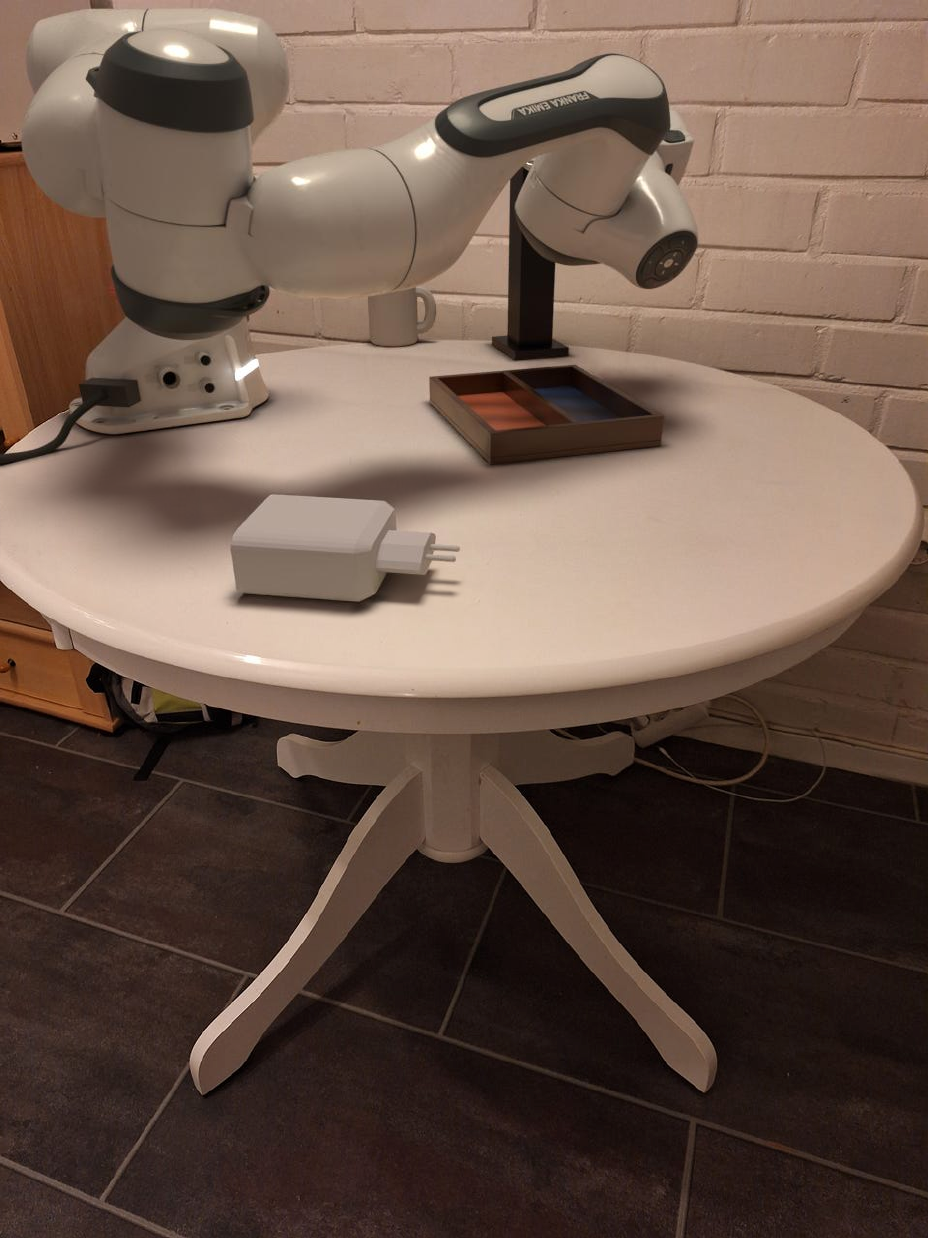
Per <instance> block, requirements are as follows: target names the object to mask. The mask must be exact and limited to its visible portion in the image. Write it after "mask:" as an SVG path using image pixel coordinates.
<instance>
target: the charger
mask: <svg viewBox="0 0 928 1238" xmlns="http://www.w3.org/2000/svg"><path fill="white" fill-rule="evenodd" d="M436 539H437V536H436V533H435V532H428V531H410V530H397V511H396V508H394V507H393V506H392V505H390V504H389V503H388V502H387V501H385V500H379V499H378V500H375V499H358V498H342V497H327V496H326V497H324V496H308V495H292V494H291V495H290V494H275V493H274V494H270V495H268V496H267V497H266V498H265V499H264V500H263V501H262V502H261V503H260V504H259V505H258V507H256V508H255V510H254V511H253V512H252V513H251V514H250V515H249V516H248V517H247V518H246V519H245V520H244V521H243V522H242V523H241V524H240V525H239V526H238V528H237V529H236V530H235V531H234V533H233V535H232V537H231V541H230V554H231V561H232V569H233V576H234V581H235V582H234V583H235V589H236V592H237V593H238V594H248V595H249V594H251V595H264V596H278V597H288V598H289V597H291V598H303V599H316V600H332V601H345V602H359V603H360V602H362V601H364V600H366V599H368V598H370V597H372V596H373V595H375V594H376V593H377V592H378V590H379V588H380V586H381V585H382V583H383V581H384V579H385V577H386V575H387V573H393V574H408V575H423V576H425V575H426V574H427V573H428V570H429V568H430V566H431V564H432V562H445V563H446V562H447V563H455V562H456V560H457V558H456V556H455V555H449V554H447V555H446V554H434V552H435V551H437V552H438V551H439V552H454V553H459V552H460V550H461V546H459V545H450V544H449V545H448V544H438V543H437V544H436Z"/></svg>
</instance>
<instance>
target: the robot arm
mask: <svg viewBox="0 0 928 1238" xmlns="http://www.w3.org/2000/svg"><path fill="white" fill-rule="evenodd" d="M25 53H26V54H25V64H26V73H27V78H28V81H29V84H30V87H31V89H32V91H33V94H34V96H33V97H32V100H31V102H30V104H29V106H28V108H27V112H26V114H25V117H24V121H23V124H22V128H21V149H22V150H21V151H22V156H23V159H24V162H25V164H26V167H27V170H28V172H29V174H30V175H31V177H32V179H33V180H34V182H35V183H36V186H38V188H39V189H40V190H41V191H42V192H43V193H44V194H45V195H46V196H47V197H48V198H49V199H50V200H51V201H52V202H54V203H55V204H57V205H58V206H59V207H61V208H62V209H65V210H66V211H68V212H71V213H73V214H75V215H78V216H83V217H87V218H105V222H106V229H107V236H108V242H109V248H110V253H111V259H112V265H111V267H110V275H111V280H112V281H111V282H110V286H108V289H109V290H108V293H109V296H110V297H112V299H114V300H117V301H118V303H119V306H120V308H121V311H122V313H123V314H124V316H125V317H124V318H123V319H122V320H120V322H118V325H116V326H115V327H114V329H112V331H110V333H109V334H107V336H106V337H105V338H104V339H102V340H101V342H100V343H99V344H98V345H97V346H95V347H94V349H92V350H91V351H90V353H89V354H88V356H87V358H86V363H85V372H84V373H85V374H84V375H85V376H84V377H85V378H84V381H82V382H79V383H78V386H79V392H80V397H78V398H77V397H76V398H74V399H73V400H72V401H71V402H70V403H69V404H68V411H69V416H68V417H66V419H65V421H64V422H63V424H62V426H61V428H60V430H59V432H58V434H57V435H56V436H55V437H54V439H52V440H51V441H49V442H48V443H46V444H44V445H42V446H39V447H36V448H34V449H29V450H23V451H18V452H16V451H15V452H8V453H1V454H0V464H6V463H7V464H8V463H15V462H20V461H24V460H28V459H29V460H30V459H34V458H37V457H40V456H44V455H47V454H50V453H52V452H54V451H55V450H57V449H59V447H61V446H62V445H63V444H64V443H65V442H66V440H67V439H68V437H69V435H70V433H71V431H72V429H73V427H74V426H75V424H77V425H79V426H80V427H82V428H83V429H86V430H88V431H89V430H90V431H92V432H95V433H100V434H107V435H121V434H127V433H128V434H129V433H137V432H144V431H149V430H159V429H165V428H172V427H180V426H187V425H195V424H202V423H209V422H218V421H224V420H232V419H239V418H244V417H248V416H249V415H250V414H251V412H252V411H253V409H254V408H256V407H257V406H259V405H261V404H262V403H264V402H265V401H266V400H268V398H269V396H270V393H269V391H268V388H267V386H266V384H265V381H264V379H263V377H262V373H261V370H260V367H259V360H258V359H257V357H256V353H255V350H254V346H253V341H252V337H251V336H252V335H251V332H250V326H249V322H250V316H251V315H253V314H256V313H257V312H258V311H260V310H262V309H263V307H264V306H265V305H266V303H267V301H268V299H269V297H270V293H271V290H270V288H271V289H273V290H275V291H276V292H277V293H281V294H283V295H285V296H289V297H294V298H302V299H312V300H313V299H316V300H317V299H318V300H320V299H321V300H338V299H339V300H340V299H356V298H368V296H374V295H380V294H386V293H392V292H397V291H403V290H407V289H411V288H414V287H417V286H423V285H424V284H426V283H428V282H430V281H432V280H434V279H435V278H437V277H439V276H441V275H442V274H444V273H446V272H447V271H448V270H449V269H450V268H452V266H453V265H455V264H456V263H457V262H458V260H459V259H460V258H461V256H462V255H463V253H464V252H465V250H466V249H467V247H468V246H469V244H470V242H471V241H472V239H473V237H474V236H475V234H476V232H477V231H478V229H479V227H480V225H481V224H482V222H483V221H484V219H485V217H486V216H487V214H488V212H489V211H490V209H491V208H492V206H493V205H494V203H495V201H496V200H497V199H498V197H499V195H500V194H501V193H502V191H503V190H504V189H505V187H506V186H507V184H508V183H510V179H511V178H512V177H513V176H514V175H515V173H516V172H517V171H518V170H519V169H520V168H521V167H522V166H523V167H524V168H525V169H527V170H528V171H529V173H528V175H527V177H526V180H525V182H524V184H523V186H522V189H521V191H520V193H519V195H518V198H517V201H516V202H515V205H514V209H515V215H516V219H517V222H518V225H519V227H520V229H521V231H522V233H523V234H524V236H525V238H526V239H527V240H528V242H529V243H530V245H531V246H532V247H533V248H534V249H535V250H536V251H537V252H538V253H539V254H540V255H541V256H542V257H544V258H545V259H547V260H549V261H552V262H555V264H557V265H558V264H559V265H562V266H569V267H578V266H591V265H601V264H602V265H603V266H606V267H609V268H611V269H613V270H615V271H616V272H618V273H619V274H620V275H621V276H623V277H624V278H625V279H626V280H627V281H628V282H630V284H632V285H633V286H635V287H637V288H639V289H643V290H654V289H659V288H661V287H663V286H665V285H667V284H669V283H670V282H673V280H675V279H676V278H677V277H678V276H680V274H681V273H683V271H684V270H685V269H686V267H687V266H688V264H690V262H691V260H692V259H693V257H694V255H695V253H696V251H697V250H698V245H699V231H698V227H697V223H696V219H695V217H694V214H693V212H692V209H691V207H690V206H689V203H688V201H687V199H686V198H685V196H684V194H683V192H682V190H681V189H680V187H679V185H680V183H681V181H682V179H683V176H684V174H685V172H686V169H687V167H688V164H689V161H690V157H691V155H692V150H693V147H694V143H695V139H694V137H693V135H692V134H691V133H690V132H689V130H688V127H687V125H686V123H685V121H684V120H683V118H682V116H681V115H680V113H679V112H678V111H677V110H676V109H675V108H673V107H670V103H669V96H668V93H667V89H666V85H665V83H664V81H663V79H662V78H661V77H660V76H659V74H658V73H657V72H656V71H655V70H653V69H652V68H651V67H650V66H648V65H646V64H645V63H644V62H641V61H640V60H637V59H636V58H634V57H630V56H628V55H624V54H620V53H610V52H609V53H604V54H600V55H595V56H593V57H590V58H588V59H586V60H583V61H580V62H579V63H577V64H576V65H574V66H572V67H571V68H569V69H567V70H565V71H561V72H557V73H553V74H548V75H544V76H541V77H537V78H533V79H528V80H524V81H520V82H516V83H512V84H507V85H504V86H503V85H502V86H499V87H495V88H491V89H488V90H484V91H481V92H476V93H473V94H470V95H467V96H464V97H462V98H459V99H458V100H455V101H453V102H452V103H451V104H449V105H448V106H447V107H445V108H444V109H443V110H441V111H440V112H439V113H438V114H437V115H436V116H435V117H433V118H432V119H430V120H428V121H426V122H425V123H424V124H422V125H421V126H419V127H417V128H416V129H414V130H412V131H410V132H408V133H406V134H404V135H402V136H400V137H398V138H396V139H395V138H394V139H393V140H390V141H388V142H385V143H382V144H379V145H375V146H370V147H359V148H348V149H340V150H334V151H328V152H324V153H319V154H315V155H310V156H306V157H303V158H302V157H301V158H299V159H295V160H292V161H288V162H286V163H283V164H281V165H278V166H275V167H272V168H270V169H267V170H266V171H264V172H263V173H261V174H260V175H258V174H254V168H253V165H254V164H253V147H254V145H256V143H257V142H258V140H259V139H260V138H261V137H262V136H263V135H264V133H265V132H266V131H268V129H270V128H271V127H272V126H273V125H274V124H275V122H277V120H278V119H279V117H280V116H281V115H282V113H283V110H284V108H285V106H286V103H287V101H288V97H289V93H290V91H289V90H290V81H291V80H290V68H289V63H288V58H287V54H286V52H285V50H284V47H283V45H282V43H281V41H280V39H279V37H278V36H277V34H276V33H275V31H274V30H273V28H272V27H271V26H270V25H269V24H268V23H267V22H266V21H265V20H264V19H263V18H262V17H259V16H254V15H250V14H246V13H242V12H239V11H234V10H228V9H223V8H219V7H160V8H159V7H158V8H157V7H153V8H152V7H151V8H84V9H80V10H74V11H70V12H64V13H61V14H57V15H56V14H55V15H53V16H49V17H45V18H42V19H40V20H38V21H37V22H36V24H35V25H34V27H33V29H32V30H31V33H30V35H29V37H28V40H27V44H26V52H25Z"/></svg>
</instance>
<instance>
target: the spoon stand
mask: <svg viewBox="0 0 928 1238" xmlns="http://www.w3.org/2000/svg"><path fill="white" fill-rule="evenodd" d="M528 173H529V171H528V170H527V169H525V168H524V167H523V166H522V167H521V168H520V169H519V170H518V171H517V172H516V173H515V175H514V176H513V177H512V178H511V179H510V181H509V214H508V215H509V217H508V218H509V219H508V221H509V222H508V274H507V275H508V276H507V277H508V279H507V282H508V283H507V334H506V335H497V336H495V335H494V336H492V337H491V346H493V347H494V348H496V349H497V350H499V351H501V352H502V353H503V354H505V355H506V356H507V357H509V358H511V359H512V360H514V361H524V360H535V359H549V358H560V357H561V358H562V357H569V355H570V347H569V346H567V345H565V344H564V343H562V342H560V341H558V340H556V339H555V338H554V337H553V333H554V332H553V331H554V310H555V309H554V308H555V307H554V306H555V285H556V284H555V282H556V263H555V262H552V261H549V260H547V259H545V258H544V257H542V256H541V255H540V254H539V253H538V252H537V251H536V250H535V249H534V248H533V247H532V246H531V245H530V243H529V242H528V240H527V239H526V238H525V236H524V234H523V233H522V231H521V229H520V227H519V225H518V222H517V219H516V215H515V209H514V205H515V202H516V201H517V198H518V195H519V193H520V191H521V189H522V186H523V184H524V182H525V180H526V177H527V175H528Z"/></svg>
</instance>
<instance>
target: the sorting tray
mask: <svg viewBox="0 0 928 1238" xmlns="http://www.w3.org/2000/svg"><path fill="white" fill-rule="evenodd" d="M428 384H429V386H428V387H429V403H430V405H431V406H432V407H434V408H435V410H436V411H437V412H438V413H439V414H440V415H441V416H442V417H443V418H444V419H445V420H446V421H447V422H448V423H449V424H450V425H451V426H452V427H453V428H454V429H455V430H456V431H457V432H458V433H459V434H460V435H461V436H462V437H463V438H464V439H465V440H466V441H467V442H468V443H469V444H470V445H471V446H472V447H473V448H474V449H475V450H476V451H477V453H478V454H480V456H482V457H483V459H484V460H485V461H486V462H487V463H488V464H490V465H499V464H509V463H515V462H517V463H518V462H526V461H535V460H542V459H543V460H545V459H553V458H560V457H561V458H562V457H570V456H579V455H587V454H597V453H607V452H616V451H625V450H634V449H642V448H653V447H660V446H662V439H663V431H664V430H663V429H664V422H665V421H664V420H665V416H664V415H663V414H661V413H659V412H658V411H656V410H654V409H653V408H651V407H649V406H647V405H646V404H644V403H643V402H641V401H639V400H638V399H636V398H634V397H632V396H631V395H629V394H627V393H625V392H624V391H622V390H620V389H618V388H616V387H615V386H614V385H612V384H610V383H608V382H606V381H604V380H603V379H601V378H599V377H597V376H596V375H594V374H592V373H591V372H589V371H587V370H585V369H584V368H582V367H580V366H579V365H577V364H565V365H554V366H553V365H552V366H542V367H529V368H517V369H505V370H494V371H492V370H491V371H481V372H469V373H459V374H458V373H457V374H447V375H446V374H445V375H434V376H433V375H432V376H429V377H428Z"/></svg>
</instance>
